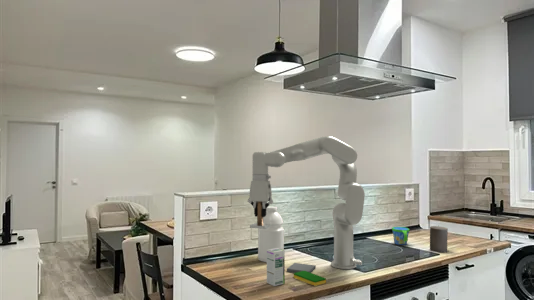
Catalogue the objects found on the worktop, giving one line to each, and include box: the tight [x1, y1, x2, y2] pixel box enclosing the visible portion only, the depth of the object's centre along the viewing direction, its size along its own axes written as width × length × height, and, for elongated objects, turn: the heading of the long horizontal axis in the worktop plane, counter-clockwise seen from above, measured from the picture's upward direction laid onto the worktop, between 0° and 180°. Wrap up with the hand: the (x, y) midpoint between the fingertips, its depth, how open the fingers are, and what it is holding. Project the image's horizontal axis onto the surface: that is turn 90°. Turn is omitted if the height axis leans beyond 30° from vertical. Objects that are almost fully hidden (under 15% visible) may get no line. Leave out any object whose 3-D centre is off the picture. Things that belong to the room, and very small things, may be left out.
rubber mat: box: [286, 262, 317, 274], centre depth 176 cm, size 11×11×2 cm
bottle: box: [257, 205, 285, 263], centre depth 195 cm, size 14×14×28 cm
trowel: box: [249, 202, 270, 229], centre depth 172 cm, size 8×6×13 cm
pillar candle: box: [429, 225, 449, 253], centre depth 217 cm, size 10×10×15 cm
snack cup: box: [391, 226, 410, 246], centre depth 233 cm, size 16×10×10 cm
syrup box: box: [266, 248, 286, 287], centre depth 157 cm, size 6×6×14 cm
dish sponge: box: [293, 271, 327, 287], centre depth 161 cm, size 7×14×2 cm, turn 38°
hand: (260, 216), depth 172 cm, fingers closed on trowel, 3 cm apart
